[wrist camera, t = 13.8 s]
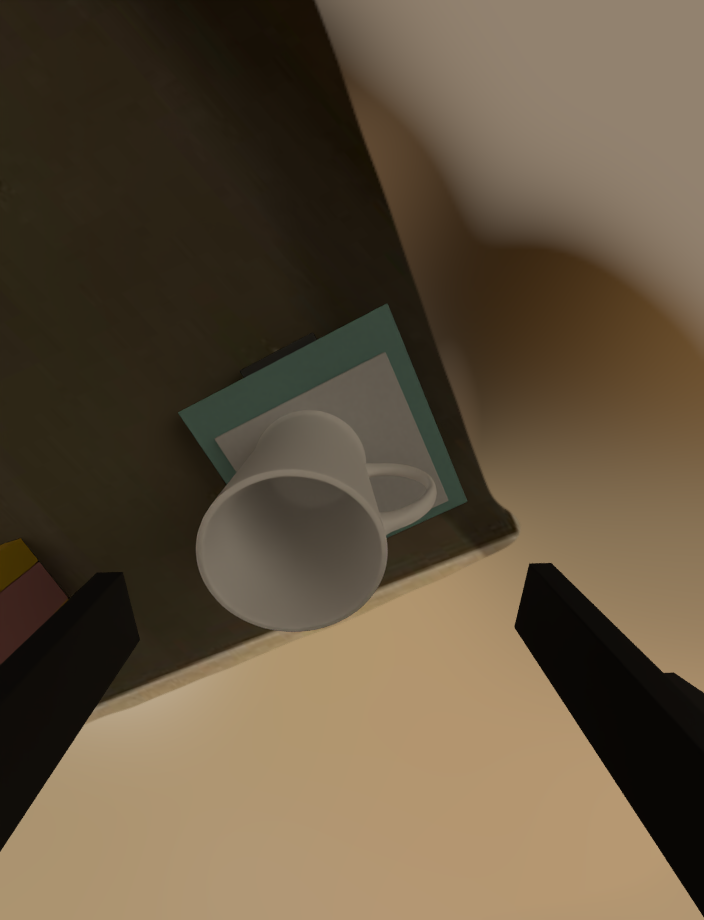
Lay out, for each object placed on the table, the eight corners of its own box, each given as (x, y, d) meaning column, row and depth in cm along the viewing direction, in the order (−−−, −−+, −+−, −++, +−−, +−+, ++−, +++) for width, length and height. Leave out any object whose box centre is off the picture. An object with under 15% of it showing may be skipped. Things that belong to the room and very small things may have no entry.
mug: (407, 403, 24) (475, 449, 13) (407, 506, 27) (463, 622, 15) (246, 413, 23) (166, 471, 12) (263, 517, 26) (210, 645, 15)
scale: (378, 300, 24) (385, 292, 21) (456, 489, 30) (470, 504, 27) (187, 400, 26) (168, 406, 23) (294, 563, 31) (291, 585, 28)
